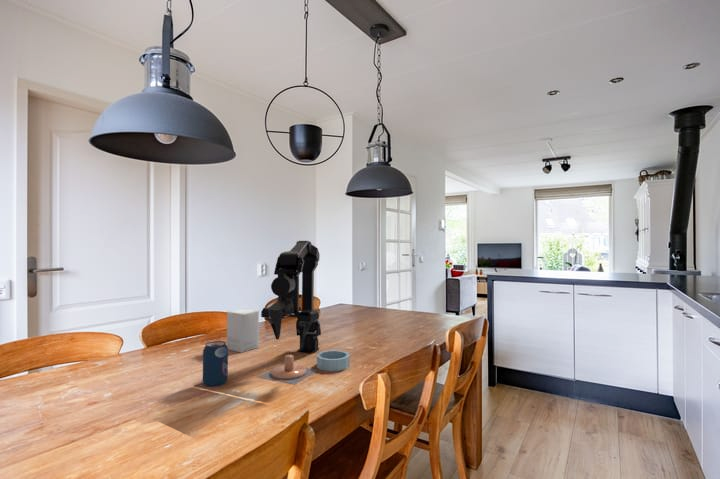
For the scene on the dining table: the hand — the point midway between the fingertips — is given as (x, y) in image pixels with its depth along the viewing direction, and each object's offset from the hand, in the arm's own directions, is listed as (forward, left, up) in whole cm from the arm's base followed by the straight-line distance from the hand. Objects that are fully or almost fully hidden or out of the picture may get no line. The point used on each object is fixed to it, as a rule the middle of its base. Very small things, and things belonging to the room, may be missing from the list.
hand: (289, 340), depth 119 cm
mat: (0, 0, -11) cm, 11 cm away
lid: (0, 0, -10) cm, 10 cm away
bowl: (+9, +13, -11) cm, 19 cm away
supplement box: (-34, +17, -11) cm, 40 cm away
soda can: (-15, -16, -11) cm, 25 cm away
